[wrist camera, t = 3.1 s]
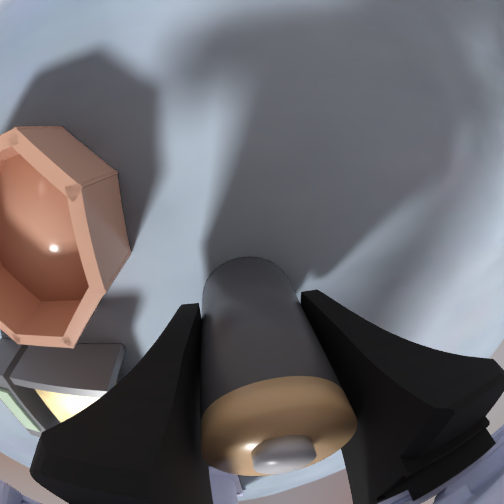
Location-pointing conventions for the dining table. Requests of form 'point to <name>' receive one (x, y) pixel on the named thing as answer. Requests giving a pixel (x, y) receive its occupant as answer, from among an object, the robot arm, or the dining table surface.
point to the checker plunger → (65, 403)
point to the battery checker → (53, 377)
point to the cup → (55, 235)
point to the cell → (265, 376)
